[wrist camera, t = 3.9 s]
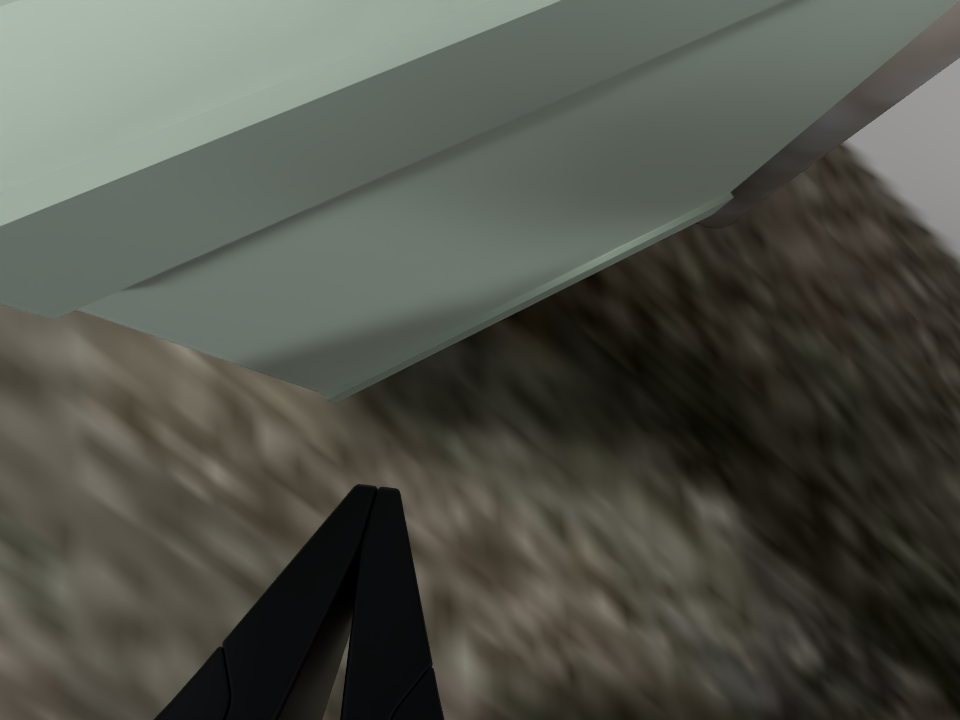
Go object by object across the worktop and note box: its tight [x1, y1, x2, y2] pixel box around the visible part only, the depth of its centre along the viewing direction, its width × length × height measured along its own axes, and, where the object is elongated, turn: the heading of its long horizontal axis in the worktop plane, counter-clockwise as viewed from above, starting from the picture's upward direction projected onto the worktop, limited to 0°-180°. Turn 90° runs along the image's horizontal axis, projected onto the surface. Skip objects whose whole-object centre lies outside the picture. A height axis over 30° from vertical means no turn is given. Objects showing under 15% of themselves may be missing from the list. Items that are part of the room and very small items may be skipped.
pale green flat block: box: [0, 0, 960, 403], centre depth 10 cm, size 14×2×12 cm, turn 118°
